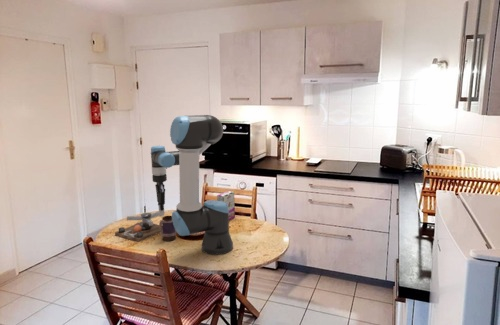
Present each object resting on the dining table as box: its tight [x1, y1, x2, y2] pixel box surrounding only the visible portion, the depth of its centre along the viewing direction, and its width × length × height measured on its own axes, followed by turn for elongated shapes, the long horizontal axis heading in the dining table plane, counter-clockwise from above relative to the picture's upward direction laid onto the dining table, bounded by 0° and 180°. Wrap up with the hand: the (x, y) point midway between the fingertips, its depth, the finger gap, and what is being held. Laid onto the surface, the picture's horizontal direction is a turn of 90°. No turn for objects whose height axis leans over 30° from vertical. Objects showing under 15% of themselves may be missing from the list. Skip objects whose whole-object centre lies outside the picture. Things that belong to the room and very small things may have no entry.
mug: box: [158, 215, 177, 242], centre depth 181 cm, size 10×7×12 cm
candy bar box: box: [216, 190, 236, 221], centre depth 210 cm, size 11×5×16 cm, turn 147°
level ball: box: [134, 225, 142, 232], centre depth 188 cm, size 4×4×4 cm
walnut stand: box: [114, 223, 160, 243], centre depth 192 cm, size 18×20×4 cm
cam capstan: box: [126, 210, 160, 231], centre depth 195 cm, size 19×16×8 cm
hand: (161, 215), depth 196 cm, fingers closed
